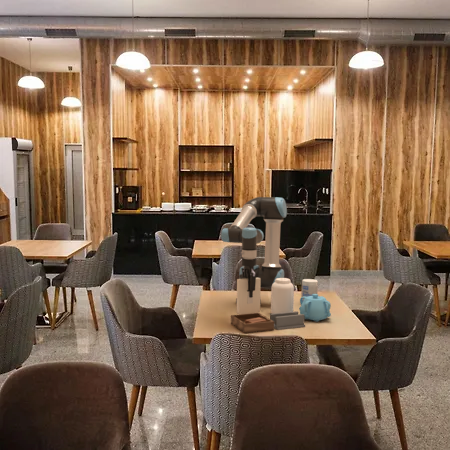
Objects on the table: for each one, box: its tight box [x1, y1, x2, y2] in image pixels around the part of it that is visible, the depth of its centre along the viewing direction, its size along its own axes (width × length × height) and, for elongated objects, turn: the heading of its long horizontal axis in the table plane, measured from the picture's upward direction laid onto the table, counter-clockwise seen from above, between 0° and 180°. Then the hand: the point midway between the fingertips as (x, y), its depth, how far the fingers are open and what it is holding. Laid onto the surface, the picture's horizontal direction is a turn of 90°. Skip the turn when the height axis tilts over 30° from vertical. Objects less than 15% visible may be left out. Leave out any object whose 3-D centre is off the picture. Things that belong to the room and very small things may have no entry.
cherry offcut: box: [245, 317, 266, 324], centre depth 264 cm, size 6×9×2 cm, turn 124°
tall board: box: [236, 278, 261, 315], centre depth 271 cm, size 3×12×18 cm, turn 112°
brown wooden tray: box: [230, 312, 275, 334], centre depth 267 cm, size 18×16×4 cm
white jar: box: [270, 277, 295, 314], centre depth 293 cm, size 12×12×20 cm
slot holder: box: [269, 311, 306, 331], centre depth 270 cm, size 10×16×6 cm, turn 112°
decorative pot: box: [298, 293, 332, 322], centre depth 284 cm, size 16×16×14 cm
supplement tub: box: [300, 278, 319, 302], centre depth 316 cm, size 10×10×15 cm
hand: (248, 302), depth 271 cm, fingers closed on tall board, 3 cm apart
